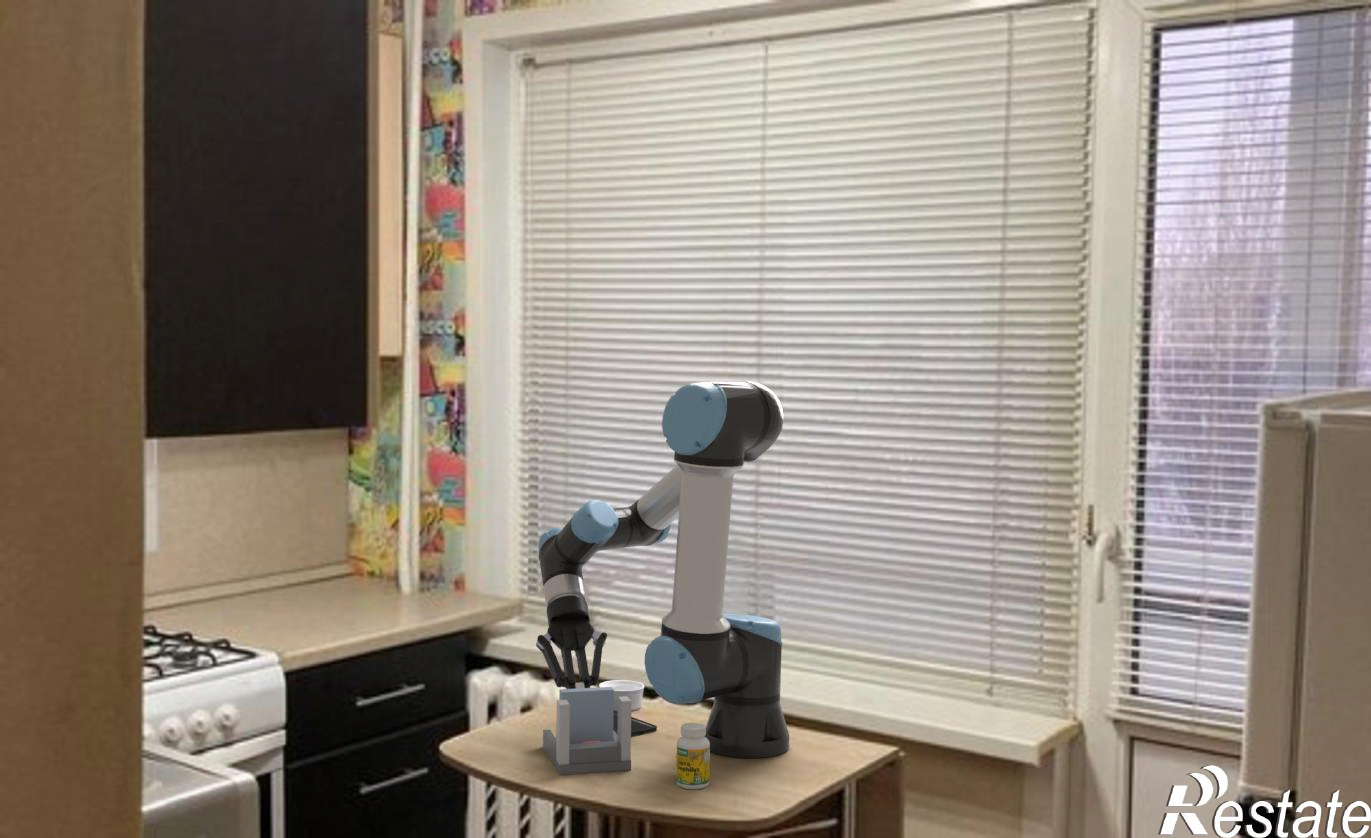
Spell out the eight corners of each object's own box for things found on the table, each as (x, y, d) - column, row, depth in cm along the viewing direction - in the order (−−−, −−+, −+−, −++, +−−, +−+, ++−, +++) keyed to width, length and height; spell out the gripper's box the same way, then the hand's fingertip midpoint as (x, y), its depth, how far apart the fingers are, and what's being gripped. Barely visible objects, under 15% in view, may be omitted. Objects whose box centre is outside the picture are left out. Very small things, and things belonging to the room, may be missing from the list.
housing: (542, 746, 240) (543, 681, 239) (610, 742, 243) (610, 678, 242) (559, 774, 224) (560, 705, 224) (631, 769, 228) (632, 701, 227)
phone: (609, 708, 262) (659, 726, 251) (609, 714, 262) (659, 732, 251) (576, 715, 257) (625, 733, 246) (576, 721, 257) (625, 739, 246)
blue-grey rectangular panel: (558, 747, 233) (559, 689, 233) (610, 743, 236) (611, 686, 235) (560, 750, 232) (561, 692, 231) (612, 747, 234) (613, 689, 233)
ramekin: (602, 699, 272) (602, 678, 272) (646, 701, 271) (647, 680, 271) (595, 711, 263) (595, 689, 263) (640, 713, 262) (641, 691, 262)
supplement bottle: (714, 781, 222) (715, 723, 222) (702, 791, 217) (703, 732, 217) (683, 777, 224) (684, 719, 224) (670, 787, 219) (671, 728, 219)
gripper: (598, 615, 255) (616, 728, 240) (528, 617, 252) (543, 732, 237) (604, 592, 250) (624, 706, 235) (533, 594, 246) (548, 710, 231)
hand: (583, 719), depth 236 cm, fingers closed
